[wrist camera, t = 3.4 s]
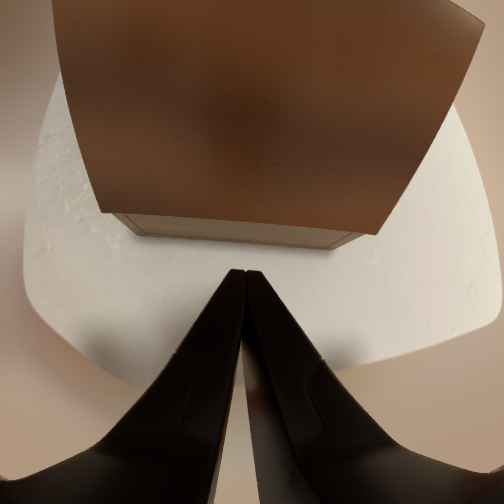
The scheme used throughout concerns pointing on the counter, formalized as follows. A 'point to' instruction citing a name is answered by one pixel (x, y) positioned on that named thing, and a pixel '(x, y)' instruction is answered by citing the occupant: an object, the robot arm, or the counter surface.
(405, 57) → the lid
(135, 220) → the box
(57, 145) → the counter surface
